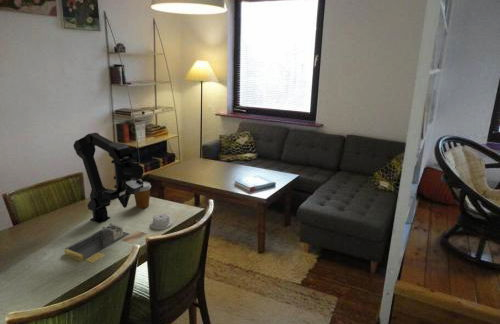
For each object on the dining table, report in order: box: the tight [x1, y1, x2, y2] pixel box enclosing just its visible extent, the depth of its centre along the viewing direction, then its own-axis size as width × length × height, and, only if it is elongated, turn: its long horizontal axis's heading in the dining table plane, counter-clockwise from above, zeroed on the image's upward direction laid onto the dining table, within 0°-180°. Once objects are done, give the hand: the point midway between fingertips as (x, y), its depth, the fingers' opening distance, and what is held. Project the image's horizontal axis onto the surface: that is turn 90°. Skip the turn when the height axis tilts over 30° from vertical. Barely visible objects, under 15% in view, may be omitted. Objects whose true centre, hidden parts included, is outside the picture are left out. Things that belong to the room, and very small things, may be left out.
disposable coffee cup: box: [133, 181, 152, 209], centre depth 183 cm, size 10×10×12 cm
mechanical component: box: [150, 213, 173, 230], centre depth 165 cm, size 10×4×10 cm
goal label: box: [85, 252, 106, 264], centre depth 137 cm, size 4×6×1 cm, turn 153°
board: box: [120, 230, 148, 244], centre depth 153 cm, size 6×10×1 cm, turn 153°
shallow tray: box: [63, 225, 130, 263], centre depth 147 cm, size 10×25×2 cm, turn 153°
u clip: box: [101, 223, 124, 241], centre depth 152 cm, size 7×5×4 cm
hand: (125, 207), depth 156 cm, fingers closed
